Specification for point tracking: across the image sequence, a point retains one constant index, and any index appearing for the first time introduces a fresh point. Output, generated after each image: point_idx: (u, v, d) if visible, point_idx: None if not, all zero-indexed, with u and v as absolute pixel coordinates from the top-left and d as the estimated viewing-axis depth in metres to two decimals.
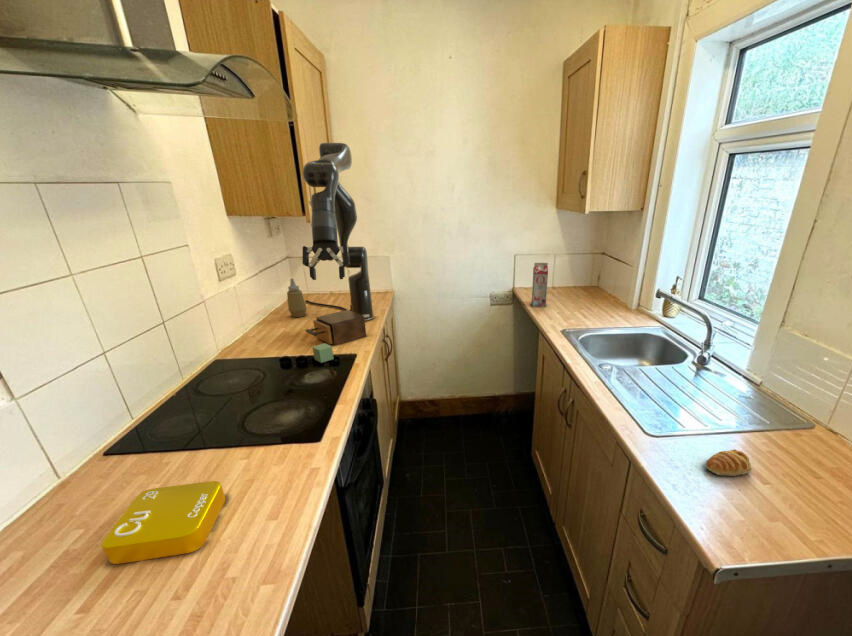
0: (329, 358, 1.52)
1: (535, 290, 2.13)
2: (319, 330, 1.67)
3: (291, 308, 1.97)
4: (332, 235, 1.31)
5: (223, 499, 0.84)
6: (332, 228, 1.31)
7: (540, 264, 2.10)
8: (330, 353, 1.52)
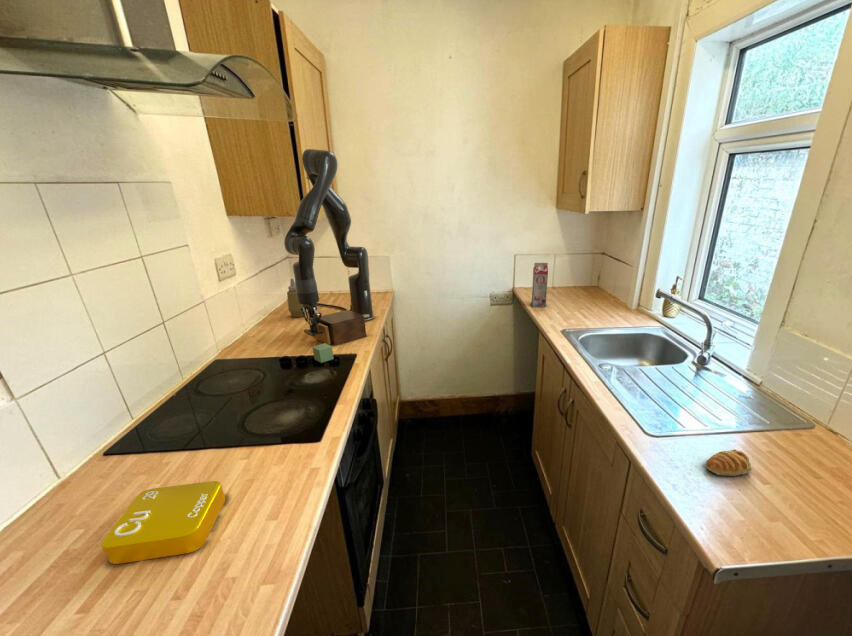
0: (329, 358, 1.52)
1: (535, 290, 2.13)
2: None
3: (291, 308, 1.97)
4: (305, 300, 1.55)
5: (223, 499, 0.84)
6: (305, 294, 1.54)
7: (540, 264, 2.10)
8: (330, 353, 1.52)
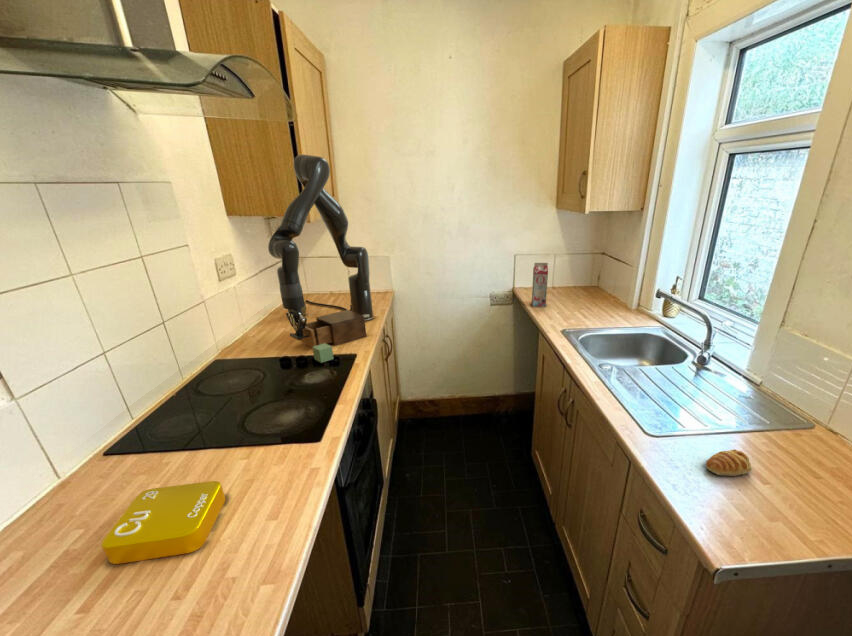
0: (329, 358, 1.52)
1: (535, 290, 2.13)
2: (303, 334, 1.63)
3: None
4: (290, 305, 1.51)
5: (223, 499, 0.84)
6: (290, 299, 1.51)
7: (540, 264, 2.10)
8: (330, 353, 1.52)
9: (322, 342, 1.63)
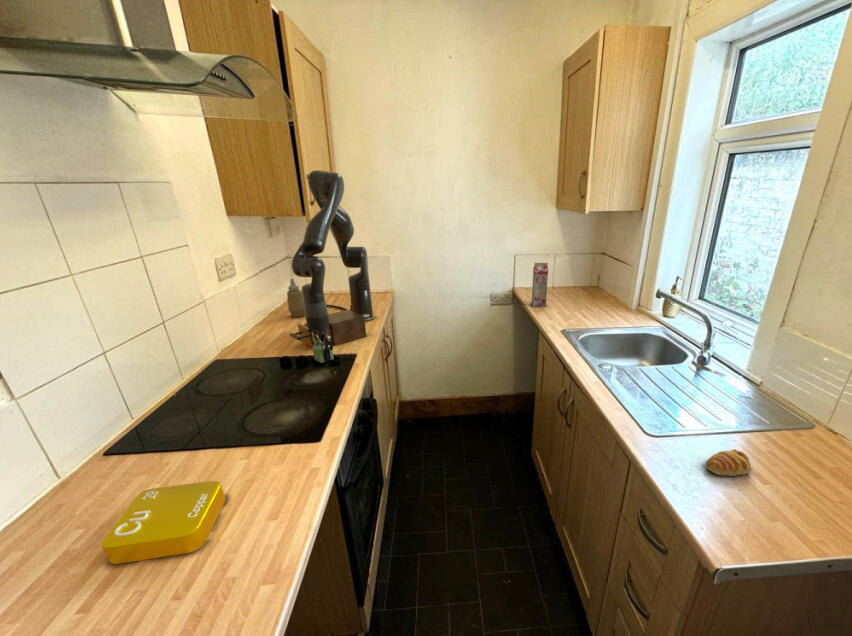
0: None
1: (535, 290, 2.13)
2: (303, 334, 1.63)
3: (291, 308, 1.97)
4: (315, 325, 1.44)
5: (223, 499, 0.84)
6: (315, 319, 1.43)
7: (540, 264, 2.10)
8: (330, 353, 1.52)
9: (322, 342, 1.63)
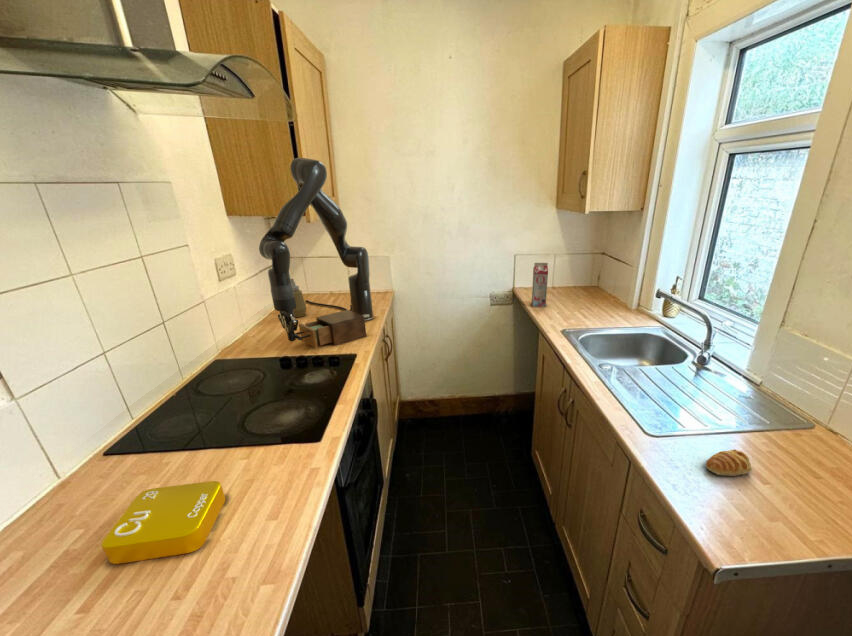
0: None
1: (535, 290, 2.13)
2: (304, 334, 1.63)
3: None
4: (281, 306, 1.50)
5: (223, 499, 0.84)
6: (281, 300, 1.49)
7: (540, 264, 2.10)
8: None
9: (323, 342, 1.63)
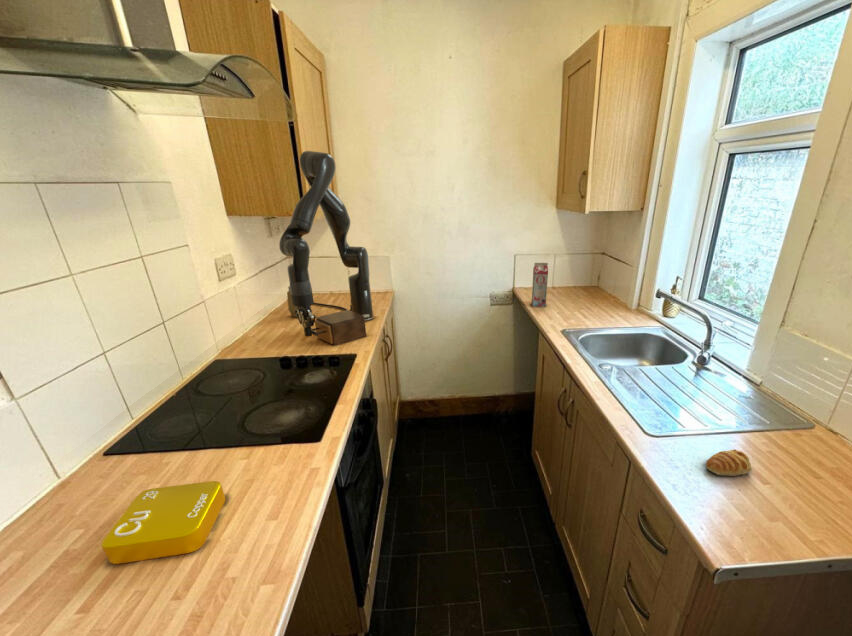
0: None
1: (535, 290, 2.13)
2: (320, 330, 1.68)
3: (291, 308, 1.97)
4: (300, 302, 1.54)
5: (223, 499, 0.84)
6: (299, 296, 1.53)
7: (540, 264, 2.10)
8: None
9: None
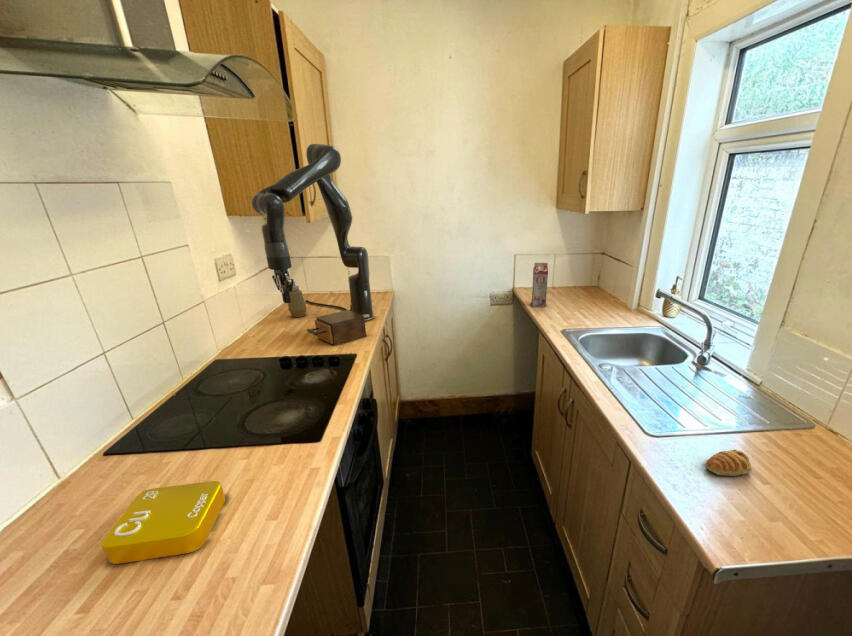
0: None
1: (535, 290, 2.13)
2: (320, 330, 1.68)
3: (291, 308, 1.97)
4: (276, 265, 1.44)
5: (223, 499, 0.84)
6: (275, 258, 1.43)
7: (540, 264, 2.10)
8: None
9: None
